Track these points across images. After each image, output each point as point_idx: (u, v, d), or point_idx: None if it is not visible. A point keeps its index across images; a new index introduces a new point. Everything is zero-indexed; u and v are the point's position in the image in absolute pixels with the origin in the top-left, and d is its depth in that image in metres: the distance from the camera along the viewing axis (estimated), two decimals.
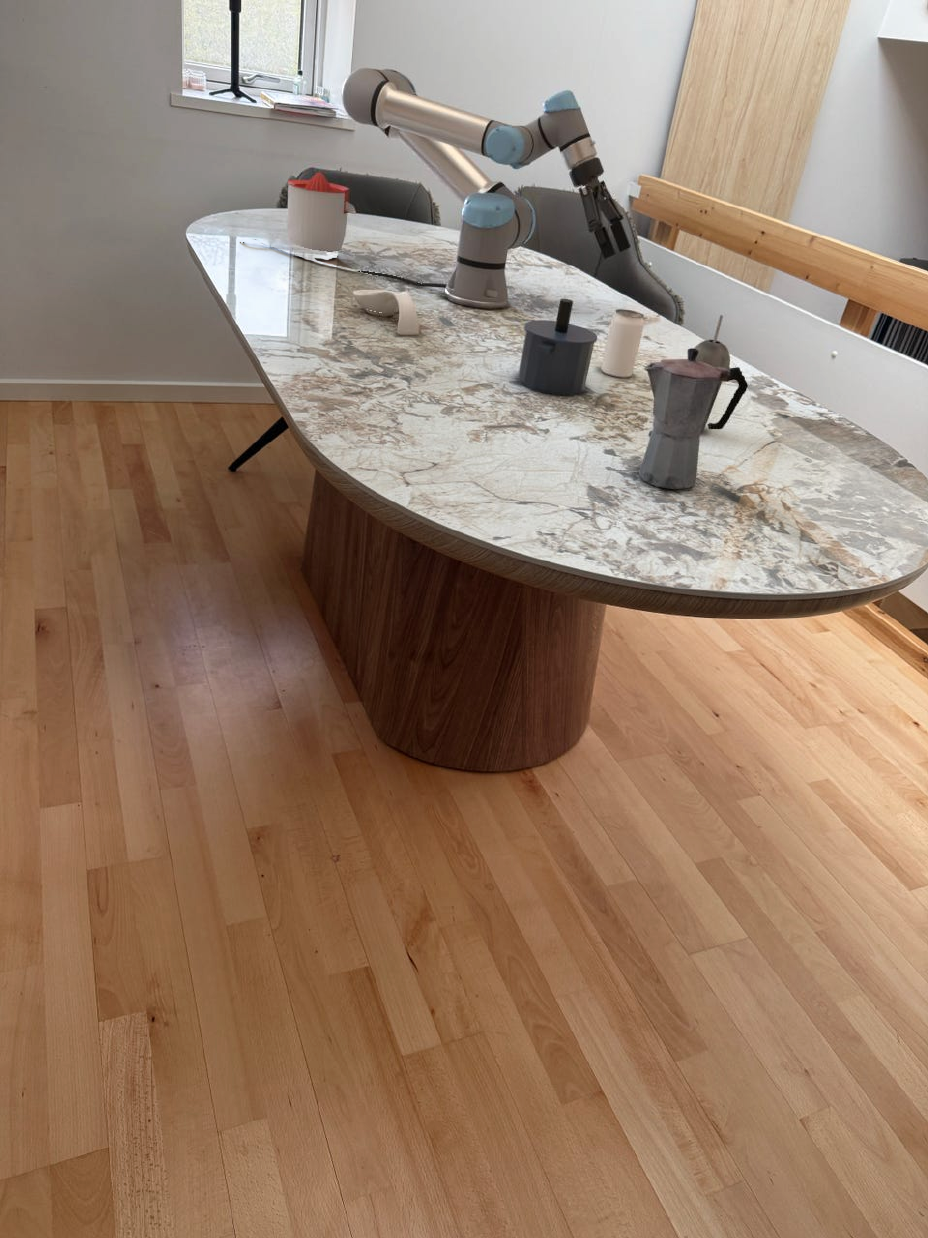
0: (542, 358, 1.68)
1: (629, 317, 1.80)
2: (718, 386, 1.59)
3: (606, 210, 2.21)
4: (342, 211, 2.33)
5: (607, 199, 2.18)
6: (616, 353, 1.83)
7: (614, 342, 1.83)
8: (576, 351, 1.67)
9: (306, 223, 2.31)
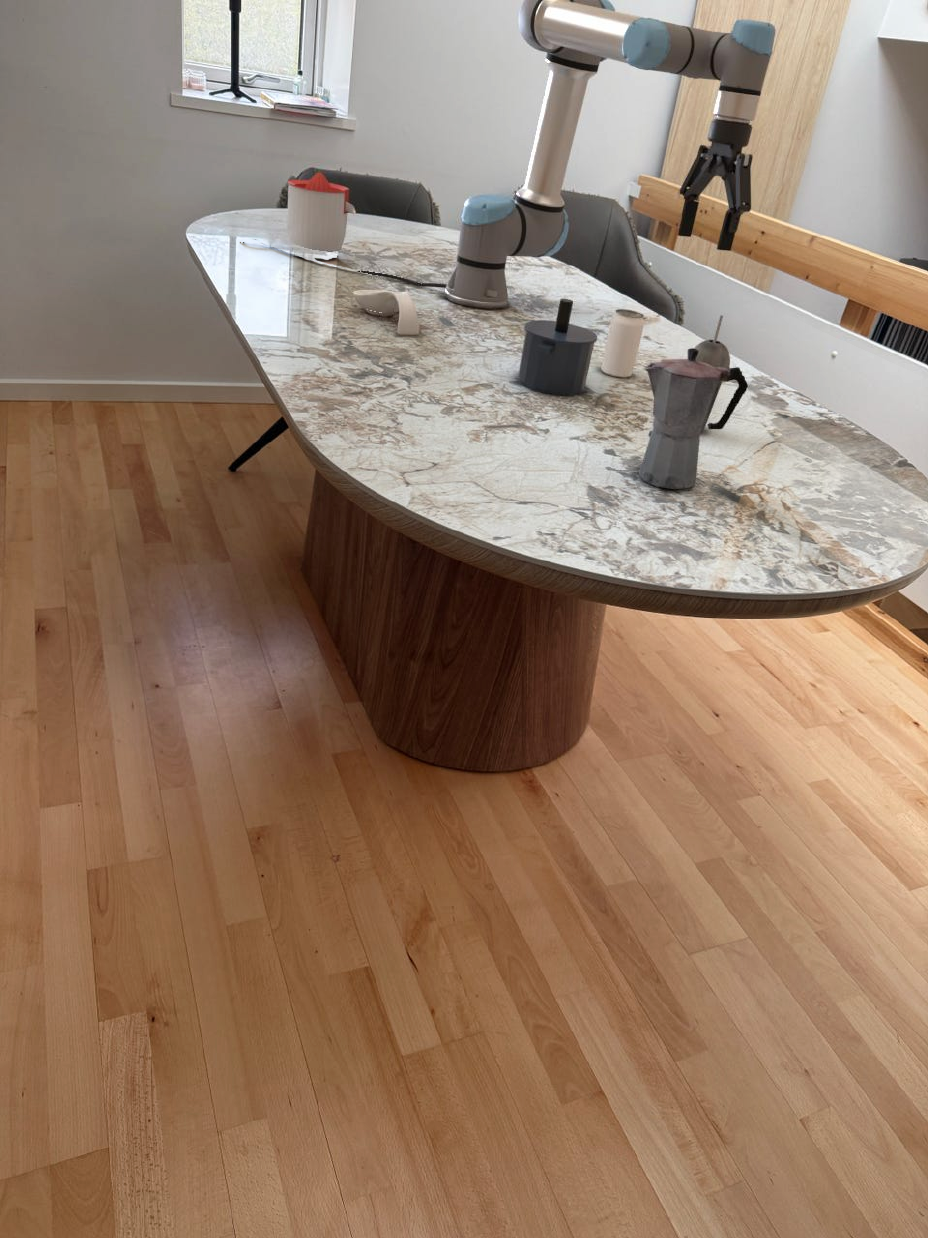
0: (542, 358, 1.68)
1: (629, 317, 1.80)
2: (718, 386, 1.59)
3: (701, 183, 1.79)
4: (342, 211, 2.33)
5: None
6: (616, 352, 1.83)
7: (615, 342, 1.83)
8: (576, 351, 1.67)
9: (306, 223, 2.31)
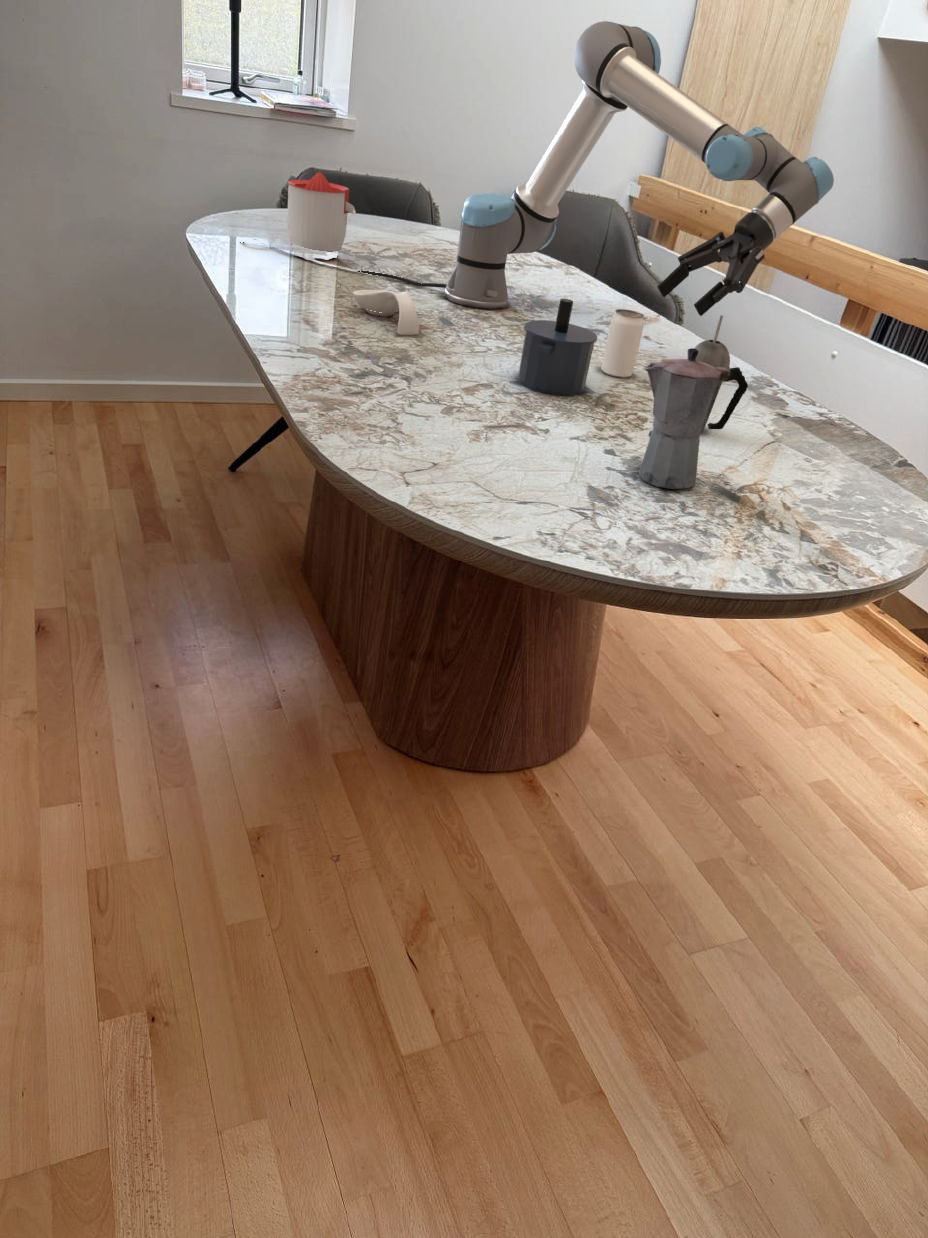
0: (542, 358, 1.68)
1: (629, 317, 1.80)
2: (718, 386, 1.59)
3: (703, 259, 1.87)
4: (342, 211, 2.33)
5: (719, 261, 1.86)
6: (616, 353, 1.83)
7: (614, 342, 1.83)
8: (576, 351, 1.67)
9: (306, 223, 2.31)
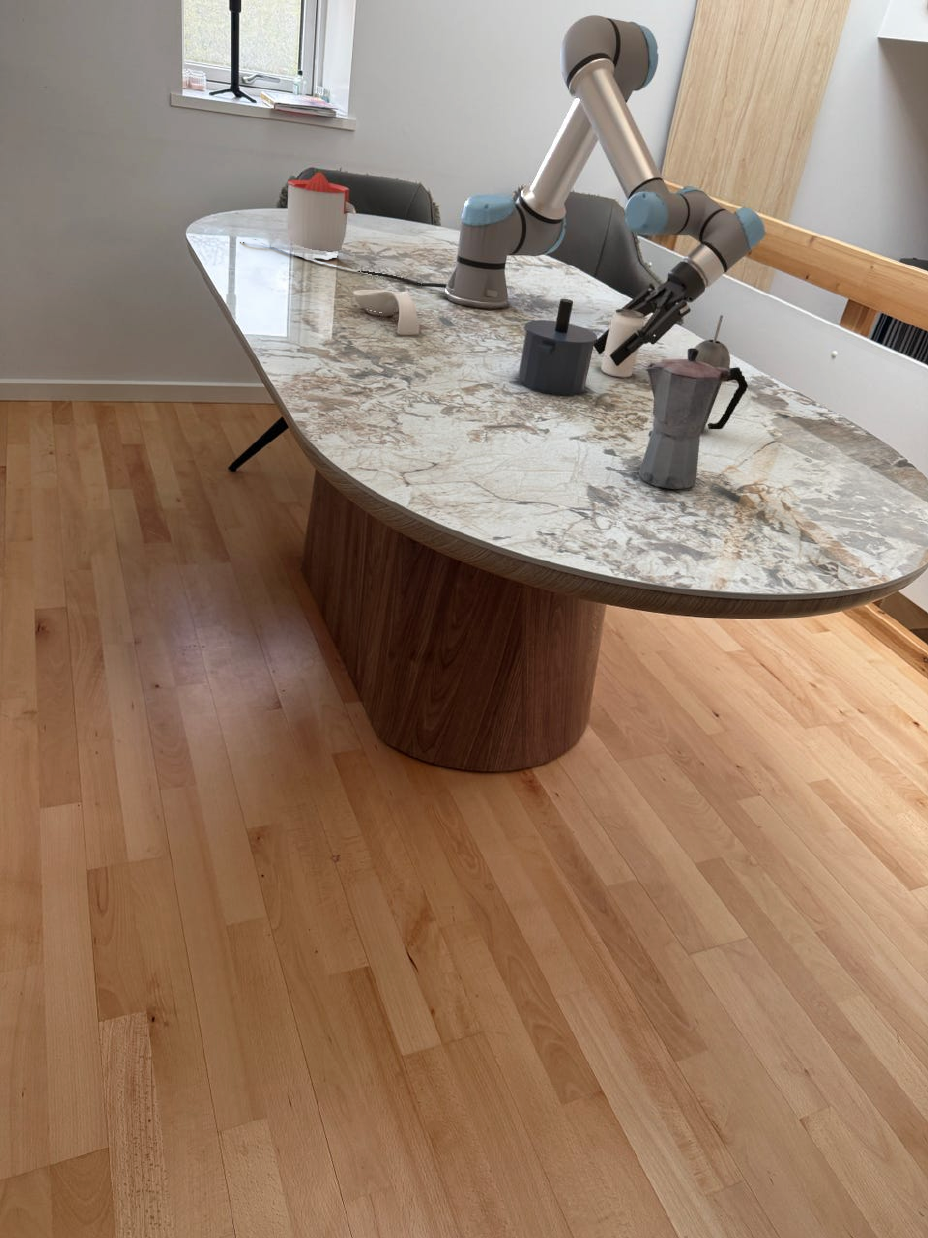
0: (542, 358, 1.68)
1: (629, 317, 1.80)
2: (718, 386, 1.59)
3: (639, 312, 1.86)
4: (342, 211, 2.33)
5: (654, 311, 1.86)
6: None
7: (615, 342, 1.83)
8: (576, 351, 1.67)
9: (306, 223, 2.31)
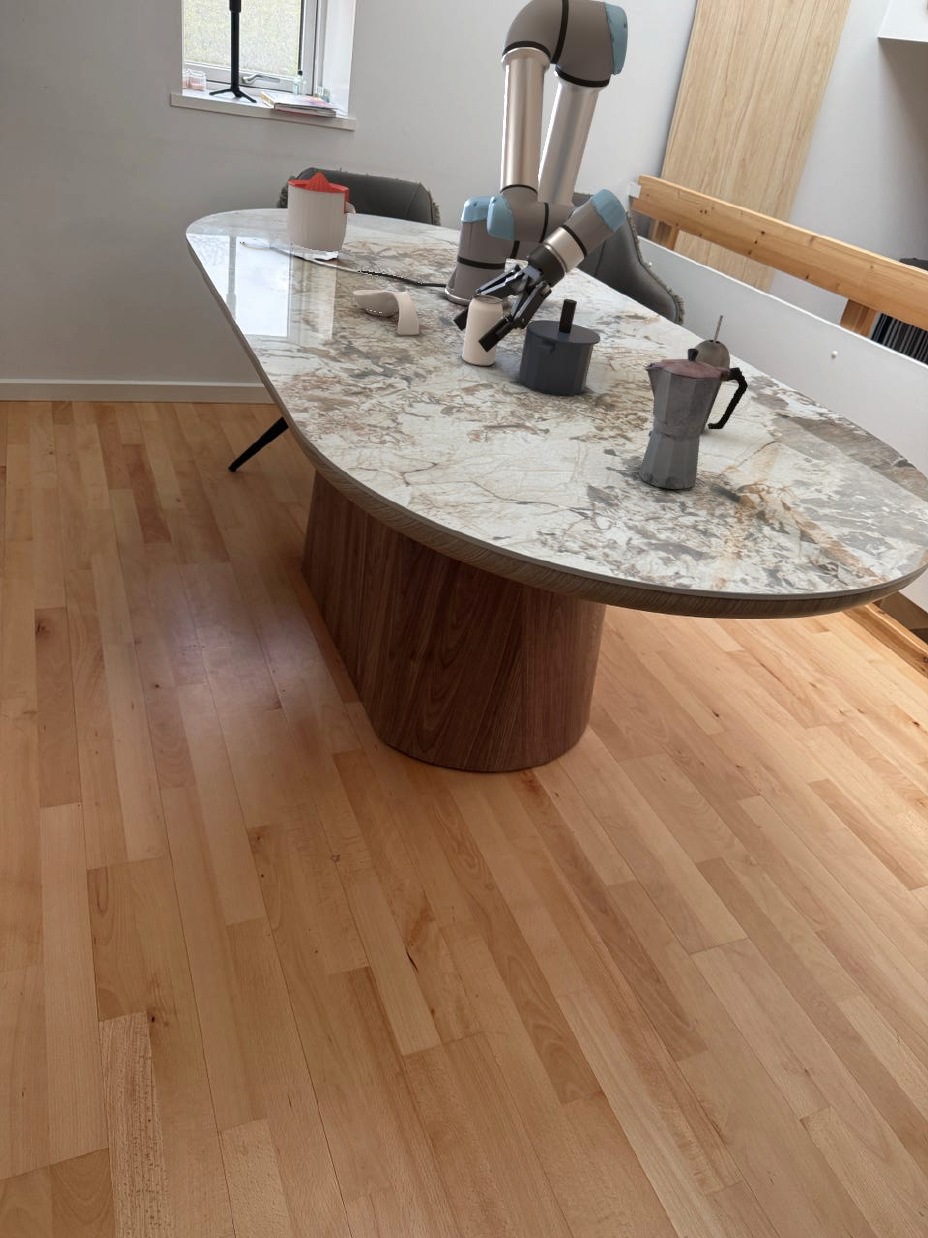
0: (542, 358, 1.68)
1: (485, 303, 1.73)
2: (718, 386, 1.59)
3: (499, 292, 1.81)
4: (342, 211, 2.33)
5: (514, 294, 1.80)
6: (474, 340, 1.77)
7: (472, 329, 1.76)
8: (576, 351, 1.67)
9: (306, 223, 2.31)
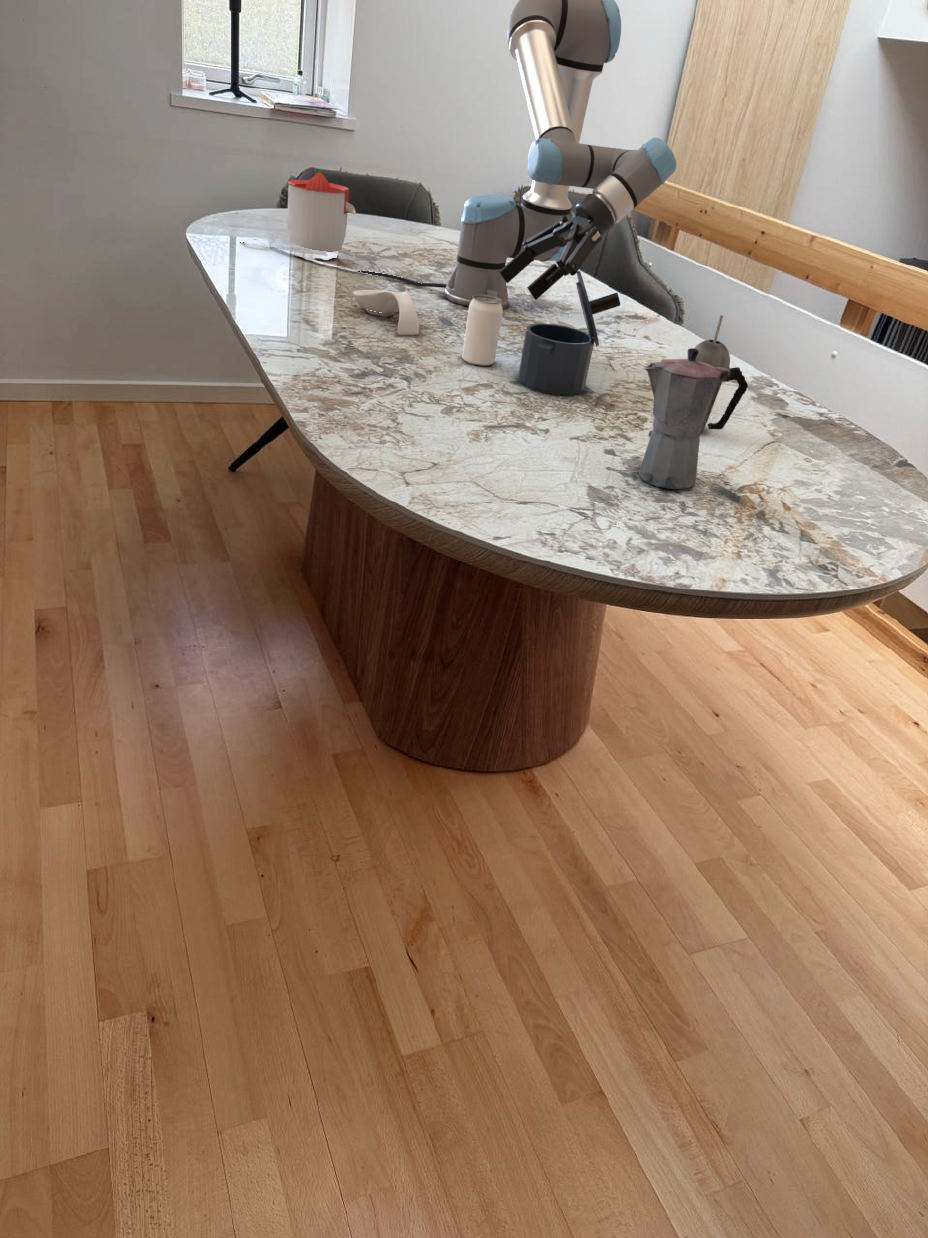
0: (542, 358, 1.68)
1: (485, 303, 1.73)
2: (718, 386, 1.59)
3: (546, 243, 1.79)
4: (342, 211, 2.33)
5: (562, 245, 1.78)
6: (474, 340, 1.77)
7: (472, 329, 1.76)
8: (576, 351, 1.67)
9: (306, 223, 2.31)
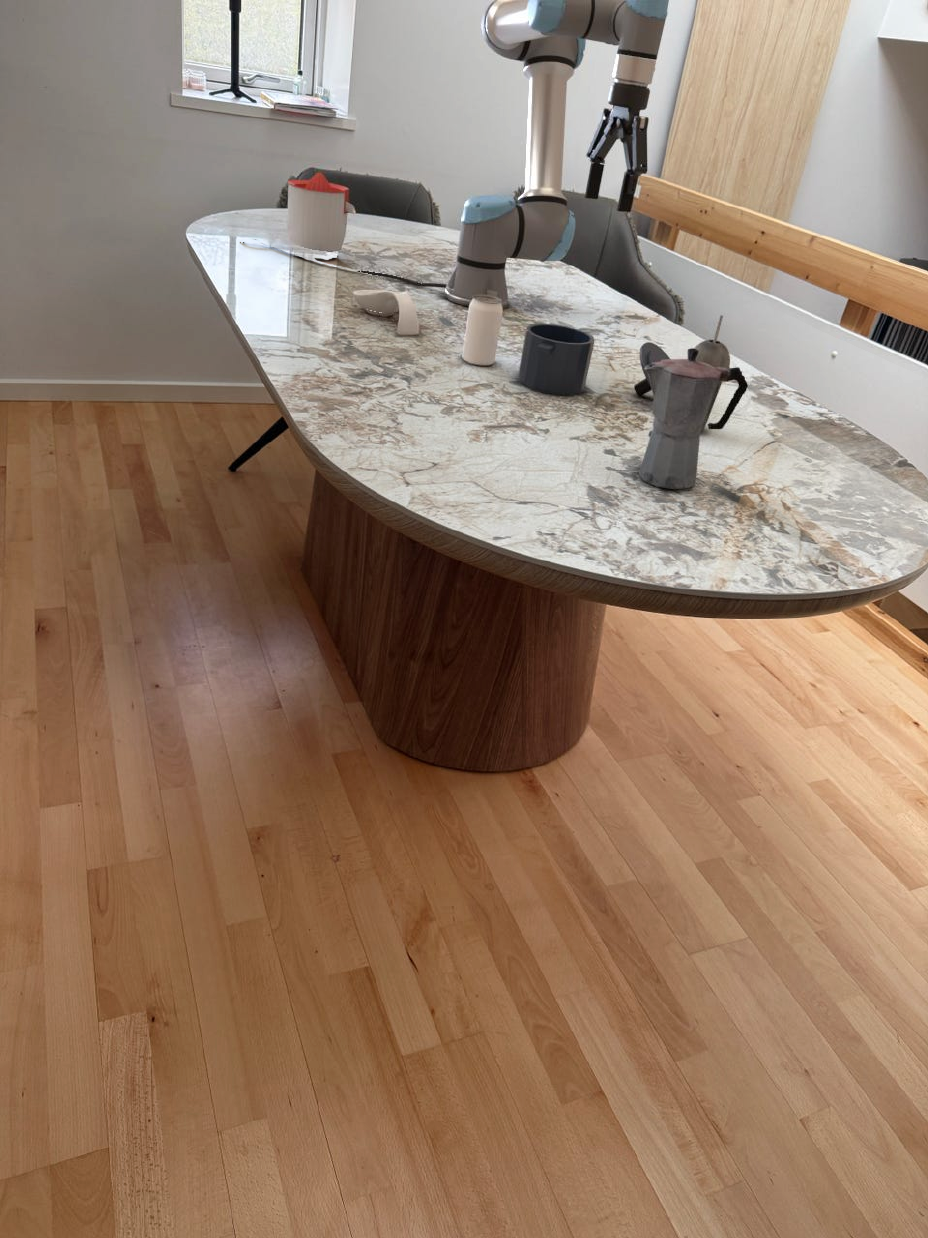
0: (542, 358, 1.68)
1: (485, 303, 1.73)
2: (718, 386, 1.59)
3: (605, 145, 1.84)
4: (342, 211, 2.33)
5: None
6: (474, 340, 1.77)
7: (472, 329, 1.76)
8: (576, 351, 1.67)
9: (306, 223, 2.31)
